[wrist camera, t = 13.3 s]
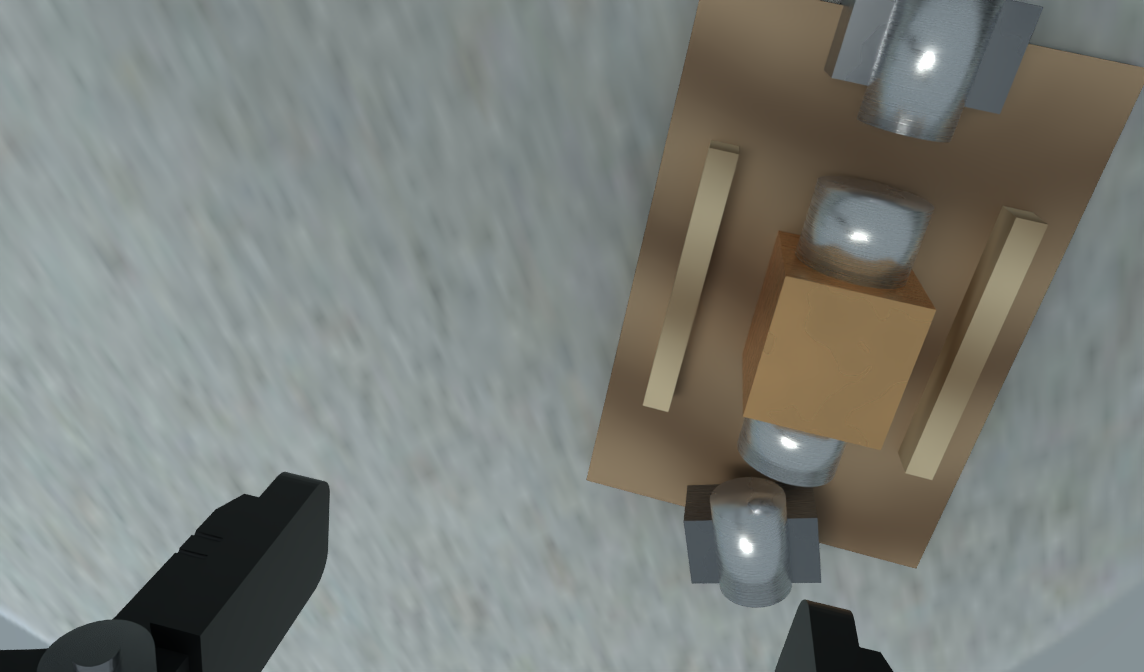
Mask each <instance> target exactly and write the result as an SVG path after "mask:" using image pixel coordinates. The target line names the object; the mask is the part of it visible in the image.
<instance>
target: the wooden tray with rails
mask: <svg viewBox="0 0 1144 672" xmlns="http://www.w3.org/2000/svg"><path fill="white" fill-rule="evenodd" d="M842 9H843V5H839V4H835V3H830V2H825V1H820V0H699V4H698V8H697V12H696V16H695V21H694V25H693V29H692V33H691V38H690V42H689V46H688V50H687V55H686V59H685V63H684V67H683V72H682V76H681V80H680V84H679V89H678V93H677V97H676V101H675V106H674V110H673V114H672V118H671V123H670V127H669V131H668V135H667V140H666V144H665V148H664V152H663V157H662V161H661V165H660V169H659V174H658V178H657V182H656V186H655V191H654V195H653V199H652V203H651V208H650V212H649V216H648V220H647V225H646V229H645V233H644V237H643V242H642V246H641V250H640V254H639V259H638V263H637V267H636V271H635V276H634V280H633V284H632V288H631V293H630V297H629V301H628V305H627V310H626V314H625V318H624V322H623V327H622V331H621V335H620V339H619V344H618V348H617V352H616V356H615V361H614V365H613V369H612V373H611V378H610V382H609V386H608V390H607V395H606V399H605V403H604V407H603V412H602V416H601V420H600V424H599V429H598V433H597V437H596V441H595V446H594V450H593V454H592V458H591V463H590V467H589V471H588V475H587V480H588V481H591V482H595V483H599V484H603V485H606V486H610V487H614V488H617V489H621V490H625V491H629V492H632V493H636V494H640V495H644V496H647V497H651V498H655V499H658V500H662V501H666V502H670V503H673V504H677V505H681V506H685V504H686V494H687V485H713V484H722V483H724V482H726V481H728V480H732V479H736V478H742V477H757V478H763V479H767V480H770V481H772V482H780V481H777V480H774V479H772V478H770V477H767V476H765V475H764V474H762V473H760V472H758V471H757V470H755V469H754V468H753V467H751V466H750V465H749V464H748V463H747V462H746V461H745V460H744V459H743V458H742V457H741V455H740V453H739V451H738V448H737V441H738V438H739V435H740V432H741V428H742V425H743V422H744V419H745V417H743V383H742V353H743V350H744V346H745V343H746V339H747V336H748V333H749V329H750V326H751V322H752V319H753V316H754V312H755V309H756V305H757V302H758V299H759V295H760V292H761V288H762V285H763V282H764V278H765V275H766V271H767V268H768V264H769V261H770V258H771V254H772V251H773V247H774V244H775V241H776V237H777V234H778V231H783V232H787V233H792V234H796V235H801V232H802V229H803V226H804V223H805V219H806V216H807V213H808V209H809V206H810V203H811V200H812V196H813V193H814V190H815V187H816V183H817V180H818V178H819V177H822V176H844V177H852V178H858V179H863V180H868V181H872V182H877V183H881V184H884V185H888V186H891V187H895V188H898V189H901V190H904V191H907V192H909V193H912V194H914V195H917V196H919V197H921V198H923V199H925V200H927V201H928V202H930V203H931V204H932V205H933V206H934V211H933V213H932V216H931V219H930V221H929V224H928V227H927V229H926V232H925V235H924V237H923V240H922V243H921V245H920V248H919V251H918V254H917V256H916V259H915V262H914V264H913V267H912V270H913V272H914V274H915V275H916V277H917V279H918V280H919V282H920V284H921V285H922V287H923V289H924V290H925V292H926V294H927V295H928V297H929V299H930V300H931V302H932V304H933V305H934V307H935V309H936V312H935V315H934V317H933V320H932V322H931V325H930V327H929V330H928V332H927V335H926V337H925V340H924V343H923V345H922V348H921V350H920V353H919V355H918V358H917V360H916V363H915V365H914V368H913V370H912V373H911V375H910V378H909V380H908V383H907V385H906V388H905V390H904V393H903V396H902V398H901V401H900V403H899V406H898V408H897V411H896V413H895V416H894V418H893V421H892V423H891V426H890V428H889V431H888V433H887V436H886V438H885V441H884V443H883V446H882V449H881V450H877V449H873V448H869V447H865V446H861V445H857V444H853V443H849V442H847V444H846V446H845V449H844V452H843V454H842V457H841V460H840V462H839V465H838V468H837V470H836V473H835V476H834V478H833V479H832V480H831V481H830V482H829V483H827V484H824V485H821V486H816V487H813V491H814V498H815V504H816V511H817V518H818V536H819V543H822V544H826V545H830V546H834V547H837V548H841V549H845V550H849V551H852V552H856V553H860V554H863V555H867V556H871V557H875V558H878V559H882V560H886V561H890V562H893V563H897V564H901V565H904V566H908V567H912V568H917V566H918V564H919V562H920V559H921V557H922V555H923V553H924V551H925V549H926V547H927V545H928V542H929V540H930V538H931V536H932V534H933V532H934V530H935V528H936V525H937V523H938V521H939V519H940V517H941V515H942V513H943V511H944V508H945V506H946V504H947V502H948V500H949V498H950V496H951V494H952V491H953V489H954V487H955V485H956V483H957V481H958V479H959V477H960V474H961V472H962V470H963V468H964V466H965V464H966V462H967V460H968V457H969V455H970V453H971V451H972V449H973V447H974V445H975V443H976V440H977V438H978V436H979V434H980V432H981V430H982V428H983V426H984V423H985V421H986V419H987V417H988V415H989V413H990V411H991V409H992V406H993V404H994V402H995V400H996V398H997V396H998V394H999V391H1000V389H1001V387H1002V385H1003V383H1004V381H1005V379H1006V377H1007V374H1008V372H1009V370H1010V368H1011V366H1012V364H1013V362H1014V360H1015V357H1016V355H1017V353H1018V351H1019V349H1020V347H1021V345H1022V343H1023V340H1024V338H1025V336H1026V334H1027V332H1028V330H1029V328H1030V326H1031V323H1032V321H1033V319H1034V317H1035V315H1036V313H1037V311H1038V309H1039V306H1040V304H1041V302H1042V300H1043V298H1044V296H1045V294H1046V292H1047V289H1048V287H1049V285H1050V283H1051V281H1052V279H1053V277H1054V275H1055V272H1056V270H1057V268H1058V266H1059V264H1060V262H1061V260H1062V258H1063V255H1064V253H1065V251H1066V249H1067V247H1068V245H1069V243H1070V241H1071V238H1072V236H1073V234H1074V232H1075V230H1076V228H1077V226H1078V224H1079V221H1080V219H1081V217H1082V215H1083V213H1084V211H1085V209H1086V207H1087V204H1088V202H1089V200H1090V198H1091V196H1092V194H1093V192H1094V189H1095V187H1096V185H1097V183H1098V181H1099V179H1100V177H1101V175H1102V172H1103V170H1104V168H1105V166H1106V164H1107V162H1108V160H1109V158H1110V155H1111V153H1112V151H1113V149H1114V147H1115V145H1116V143H1117V141H1118V138H1119V136H1120V134H1121V132H1122V130H1123V128H1124V126H1125V124H1126V121H1127V119H1128V117H1129V115H1130V113H1131V111H1132V109H1133V107H1134V104H1135V102H1136V100H1137V98H1138V96H1139V94H1140V92H1141V90H1142V87H1143V85H1144V68H1143V67H1138V66H1133V65H1129V64H1124V63H1119V62H1114V61H1109V60H1104V59H1100V58H1095V57H1090V56H1085V55H1080V54H1076V53H1071V52H1066V51H1061V50H1056V49H1051V48H1047V47H1042V46H1037V45H1032V44H1028V46H1027V48H1026V51H1025V53H1024V56H1023V58H1022V61H1021V63H1020V66H1019V68H1018V71H1017V73H1016V76H1015V78H1014V81H1013V83H1012V86H1011V88H1010V91H1009V93H1008V95H1007V98H1006V100H1005V103H1004V105H1003V108H1002V110H1001V113H1000V114H996V113H992V112H987V111H982V110H978V109H973V108H968V107H964V108H963V111H962V113H961V116H960V119H959V121H958V124H957V126H956V129H955V132H954V134H953V137H952V139H951V142H935V141H929V140H923V139H918V138H913V137H909V136H904V135H900V134H896V133H893V132H889V131H885V130H882V129H879V128H876V127H873V126H870V125H867V124H865V123H863V122H860V121H859V120H857V116H858V113H859V110H860V107H861V104H862V101H863V98H864V95H865V92H866V89H867V85H862V84H857V83H853V82H848V81H843V80H839V79H834V78H831V77H830V76H829V75H828V74H827V73H826V72H825V71H824V67H825V64H826V61H827V58H828V54H829V51H830V48H831V45H832V41H833V38H834V35H835V32H836V28H837V25H838V22H839V18H840V15H841V12H842Z"/></svg>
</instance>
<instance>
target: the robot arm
mask: <svg viewBox="0 0 1144 672" xmlns="http://www.w3.org/2000/svg"><path fill="white" fill-rule="evenodd" d="M329 498H330V490H329V485H328V483H327V482H325V481H321V480H317V479H313V478H309V477H305V476H300V475H296V474H292V473H288V472H283V473H281V474H279V475H278V476H277V477H276V479H275V480H274V481H273V482H272V483H271V484H270V485H269V487H268V488H267V489H266V490H265V491H264V492H263V493H262V495H261V496H260V497H255V496H251V495H247V494H243V495H241V496H240V497H238V498H236V499H234V500H232V501H230V502H229V503H227V504H225V505H223V506H221V507H219V508H218V509H216V510H215V511H214V512H213V513H212V514H211V515H210V516H209V517H208V518H207V519H206V520H205V521H204V522H203V524H202V525H201V526H200V527H199V528H198V529H197V530H196V532H195V535H191V536H190V537H189V539H188V540H187V541H186V542H185V543H184V544H183V545H182V546H181V547H180V548H179V552H178V553H174V555H173V556H172V557H171V558H170V559H169V560H168V561H167V562H166V563H165V564H164V565H163V566H162V567H161V568H160V570H159V571H158V572H157V573H156V574H155V575H154V576H153V577H152V578H151V579H150V580H149V581H148V582H147V583H146V585H145V586H144V587H143V588H142V589H141V590H140V591H139V592H138V593H137V594H136V595H135V596H134V597H133V598H132V599H131V601H130V602H129V603H128V604H127V605H126V606H125V607H124V608H123V609H122V610H121V611H120V612H119V613H118V614H117V616H116V617H114V618H113V619H112V620H103V621H97V622H93V623H89V624H86V625H83V626H81V627H78V628H76V629H74V630H72V631H70V632H68V633H66V634H65V635H63V636H62V637H60V638H59V639H58V640H57V641H55V642H54V643H53V644H52V645H51V646H50V647H49V648H47V649H31V650H0V672H261V671H262V670H263V668H264V666H265V665H266V663H267V662H268V660H269V659H270V657H271V656H272V654H273V653H274V651H275V650H276V648H277V647H278V645H279V644H280V642H281V641H282V639H283V638H284V636H285V635H286V633H287V632H288V630H289V628H290V627H291V625H292V624H293V622H294V621H295V619H296V618H297V616H298V615H299V613H300V612H301V610H302V609H303V607H304V606H305V604H306V603H307V601H308V600H309V598H310V597H311V595H312V594H313V592H314V591H315V589H316V587H317V585H318V583H319V581H320V579H321V577H322V574H323V571H324V568H325V564H326V560H327V554H328V531H329ZM775 672H893V671H892V669H891V667H890V666H889V664H888V663H887V661H886V660H885V658H884V657H883V655H882V654H881V652H877V651H873V650H869V649H865V648H861V647H859V643H858V637H857V632H856V626H855V621H854V617H853V614H852V612H851V611H850V610H846V609H842V608H838V607H834V606H829V605H825V604H821V603H817V602H813V601H809V600H802V602H801V603H800V605H799V607H798V609H797V612H796V614H795V617H794V620H793V623H792V625H791V628H790V631H789V633H788V636H787V639H786V641H785V644H784V647H783V650H782V652H781V655H780V658H779V660H778V663H777V666H776V669H775Z"/></svg>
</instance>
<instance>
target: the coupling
mask: <svg viewBox="0 0 1144 672" xmlns="http://www.w3.org/2000/svg"><path fill="white" fill-rule="evenodd" d="M933 211H934V206H933V205H932V204H931V203H930V202H928V201H927V200H925V199H923V198H921V197H919V196H917V195H914V194H912V193H909V192H907V191H904V190H901V189H898V188H895V187H891V186H888V185H884V184H881V183H877V182H872V181H868V180H863V179H858V178H852V177H844V176H822V177H819V178H818V180H817V183H816V187H815V190H814V193H813V196H812V200H811V203H810V206H809V209H808V213H807V216H806V219H805V223H804V226H803V229H802V232H801V235H796V234H792V233H787V232H783V231H778V234H777V237H776V241H775V244H774V247H773V251H772V254H771V258H770V261H769V264H768V268H767V271H766V275H765V278H764V282H763V285H762V288H761V292H760V295H759V299H758V302H757V305H756V309H755V312H754V316H753V319H752V322H751V326H750V329H749V333H748V336H747V339H746V343H745V346H744V350H743V353H742V383H743V417H745V419H744V422H743V425H742V428H741V432H740V435H739V438H738V441H737V448H738V451H739V453H740V455H741V457H742V458H743V459H744V460H745V461H746V462H747V463H748V464H749V465H750V466H751V467H753V468H754V469H755V470H757V471H758V472H760V473H762V474H764V475H765V476H767V477H770V478H772V479H774V480H777V481H780V482H783V483H786V484H790V485H795V486H802V487H816V486H821V485H824V484H827V483H829V482H830V481H831V480H832V479H833V478H834V476H835V473H836V470H837V468H838V465H839V462H840V460H841V457H842V454H843V452H844V449H845V446H846V444H847V442H849V443H853V444H857V445H861V446H865V447H869V448H873V449H877V450H881V449H882V446H883V443H884V441H885V438H886V436H887V433H888V431H889V428H890V426H891V423H892V421H893V418H894V416H895V413H896V411H897V408H898V406H899V403H900V401H901V398H902V396H903V393H904V390H905V388H906V385H907V383H908V380H909V378H910V375H911V373H912V370H913V368H914V365H915V363H916V360H917V358H918V355H919V353H920V350H921V348H922V345H923V343H924V340H925V337H926V335H927V332H928V330H929V327H930V325H931V322H932V320H933V317H934V315H935V312H936V309H935V307H934V305H933V304H932V302H931V300H930V299H929V297H928V295H927V294H926V292H925V290H924V289H923V287H922V285H921V284H920V282H919V280H918V279H917V277H916V275H915V274H914V272H913V270H912V267H913V264H914V262H915V259H916V256H917V254H918V251H919V248H920V245H921V243H922V240H923V237H924V235H925V232H926V229H927V227H928V224H929V221H930V219H931V216H932V213H933Z"/></svg>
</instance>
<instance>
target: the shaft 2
mask: <svg viewBox="0 0 1144 672" xmlns="http://www.w3.org/2000/svg"><path fill="white" fill-rule="evenodd" d="M840 5H843V9H842V12H841V15H840V18H839V22H838V25H837V28H836V32H835V35H834V38H833V41H832V45H831V48H830V51H829V54H828V58H827V61H826V64H825V67H824V71H825V72H826V73H827V74H828V75H829V76H830V77H831V78H834V79H839V80H843V81H848V82H853V83H857V84H862V85H867V89H866V92H865V95H864V98H863V101H862V104H861V107H860V110H859V113H858V116H857V120H859V121H860V122H863V123H865V124H867V125H870V126H873V127H876V128H879V129H882V130H885V131H889V132H893V133H896V134H900V135H904V136H909V137H913V138H918V139H923V140H929V141H935V142H951V139H952V137H953V134H954V132H955V129H956V126H957V124H958V121H959V119H960V116H961V113H962V111H963V108H964V107H968V108H973V109H978V110H982V111H987V112H992V113H996V114H1000V113H1001V110H1002V108H1003V105H1004V103H1005V100H1006V98H1007V95H1008V93H1009V91H1010V88H1011V86H1012V83H1013V81H1014V78H1015V76H1016V73H1017V71H1018V68H1019V66H1020V63H1021V61H1022V58H1023V56H1024V53H1025V51H1026V48H1027V46H1028V43H1029V41H1030V38H1031V36H1032V34H1033V31H1034V29H1035V26H1036V24H1037V21H1038V19H1039V16H1040V14H1041V11H1042V9H1043V7H1041V6H1036V5H1031V4H1026V3H1022V2H1017V1H1012V0H841V3H840Z"/></svg>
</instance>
